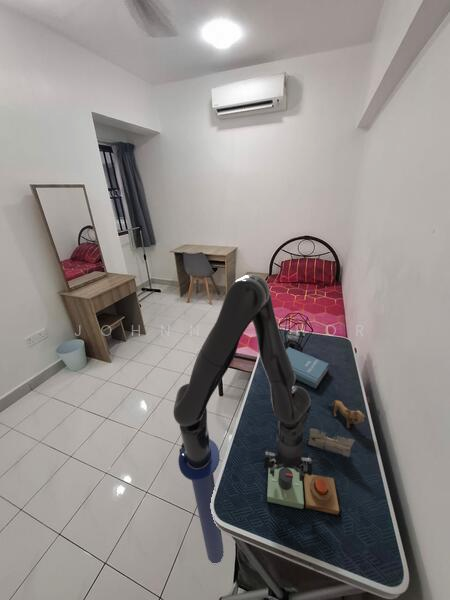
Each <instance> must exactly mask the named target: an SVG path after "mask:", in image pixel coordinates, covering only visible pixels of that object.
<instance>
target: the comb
mask: <svg viewBox="0 0 450 600" xmlns="http://www.w3.org/2000/svg"><path fill="white" fill-rule="evenodd" d="M326 434H327V432H325V431H320V430H318V429H316V428H312V427H311V428H309V439H308V443H307V445H308V446H312V447H316V448H318V449H321V450H325V451H330V452H333V453H335V454H339V455H342V456H345V457H347V458H351V450H352V447H353V445H354V443H355V441H356V440H355V439H354V438H346V437H342V436H340V435H336V439H335V438H331V437H328V435H327V436H326Z"/></svg>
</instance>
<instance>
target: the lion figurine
mask: <svg viewBox="0 0 450 600" xmlns="http://www.w3.org/2000/svg"><path fill="white" fill-rule="evenodd" d="M327 407H328V408H332V407H333V416H334V417H338V415H337V412H338V411H339V412H340V414H341V416H343V417H344V418H345V419H346V428H347V429H350V428H351V426H350V424H351V425H353V424H354V425H359V424H363V423H364V422H365V418H366V415H365V414H364V413H363V412H362V411H360V410H359V409H357V410H350V409H349V408H347V407H346V406H345V404H344V403H343V402H342V401H341V400H334V401H333V402H332V403H331V404H330V405H329V404H328V405H327Z"/></svg>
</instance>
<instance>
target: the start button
mask: <svg viewBox="0 0 450 600" xmlns="http://www.w3.org/2000/svg"><path fill="white" fill-rule="evenodd" d="M315 489H316V491H317V492H318V493H319V494H321V495H325V494H326V493H327V490H328V486H327V483H326V482H325V481H324V480H322V479H318V480H317V481H316V483H315Z"/></svg>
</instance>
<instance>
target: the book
mask: <svg viewBox="0 0 450 600" xmlns="http://www.w3.org/2000/svg"><path fill="white" fill-rule="evenodd" d="M286 352H287V354H288V357H289V359H290V362H291V364H292V367H293V370H294V373H295V376H296V381H299V382H301V383H303V384H304V385H305V384H306V385H307V386H308V387H311V388H313V389H317V387H319V384H321V382H322V380H323V378H324V377H325V376H326V374H327V372H328V371H329V369H328V366H329V365H330V364H329V363H328V362H326V361H324V360H321V359H318V358H316V357H314V356H311V355H309V354H307V353H304V352H302V351H299V350H297V349H294V348H292V347H290V346H288V347H287V348H286Z"/></svg>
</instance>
